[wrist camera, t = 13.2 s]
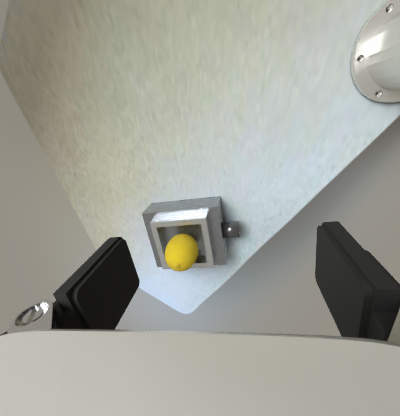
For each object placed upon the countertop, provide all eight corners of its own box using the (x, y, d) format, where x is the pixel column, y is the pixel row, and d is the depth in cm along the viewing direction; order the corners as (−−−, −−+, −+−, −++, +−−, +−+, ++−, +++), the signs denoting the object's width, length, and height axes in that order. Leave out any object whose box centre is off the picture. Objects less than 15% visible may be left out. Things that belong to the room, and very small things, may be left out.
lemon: (188, 256, 42) (178, 286, 35) (166, 238, 41) (151, 265, 34) (207, 240, 40) (201, 268, 33) (185, 220, 39) (173, 245, 32)
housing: (235, 194, 41) (235, 209, 35) (241, 248, 46) (242, 270, 39) (151, 203, 45) (137, 218, 38) (164, 252, 49) (154, 273, 43)
